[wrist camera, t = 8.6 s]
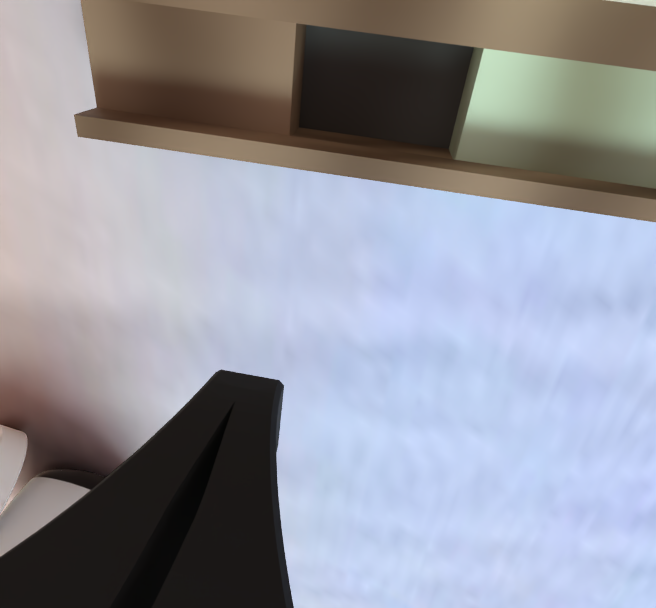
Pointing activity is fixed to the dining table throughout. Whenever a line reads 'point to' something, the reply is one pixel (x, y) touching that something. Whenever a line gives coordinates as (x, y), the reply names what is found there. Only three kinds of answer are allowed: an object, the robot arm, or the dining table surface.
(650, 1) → the cream block
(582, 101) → the brown shallow open box
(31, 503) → the spread jar
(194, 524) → the robot arm
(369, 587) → the dining table surface
